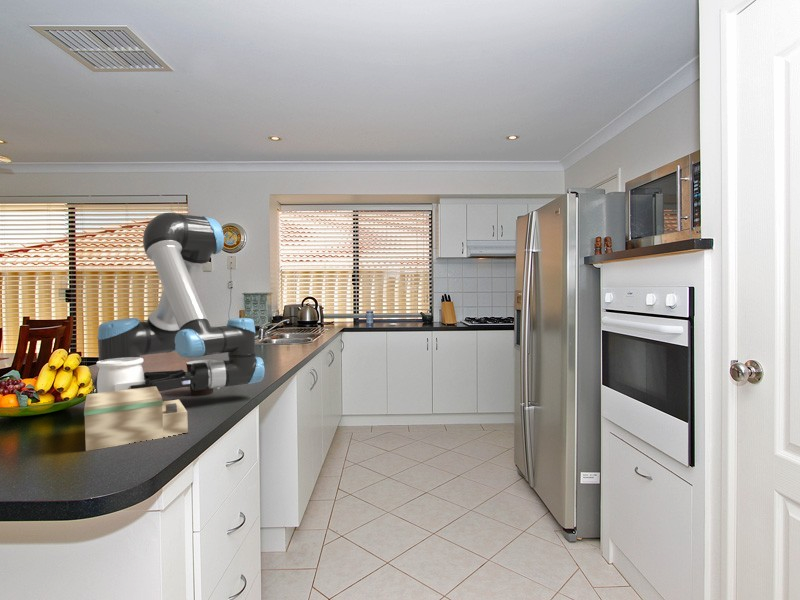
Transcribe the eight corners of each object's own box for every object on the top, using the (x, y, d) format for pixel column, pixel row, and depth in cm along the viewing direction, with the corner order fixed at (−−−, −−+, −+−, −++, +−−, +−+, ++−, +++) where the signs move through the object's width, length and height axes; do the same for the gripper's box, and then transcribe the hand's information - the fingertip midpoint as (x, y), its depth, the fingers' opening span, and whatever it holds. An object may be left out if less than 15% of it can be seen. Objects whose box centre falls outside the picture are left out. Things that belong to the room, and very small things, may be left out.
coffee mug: (205, 397, 136) (204, 364, 136) (180, 396, 138) (180, 363, 138) (227, 388, 148) (227, 358, 148) (204, 387, 150) (203, 358, 149)
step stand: (179, 418, 114) (178, 383, 113) (187, 433, 102) (186, 394, 101) (87, 433, 103) (86, 394, 103) (85, 451, 91) (83, 407, 91)
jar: (102, 415, 118) (100, 358, 117) (147, 410, 122) (145, 355, 122) (94, 426, 108) (92, 364, 108) (143, 420, 113) (141, 361, 112)
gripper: (216, 396, 117) (115, 410, 105) (200, 381, 136) (113, 392, 124) (215, 367, 117) (114, 378, 104) (199, 357, 136) (113, 365, 124)
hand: (114, 385), depth 114 cm, fingers closed on jar, 10 cm apart
